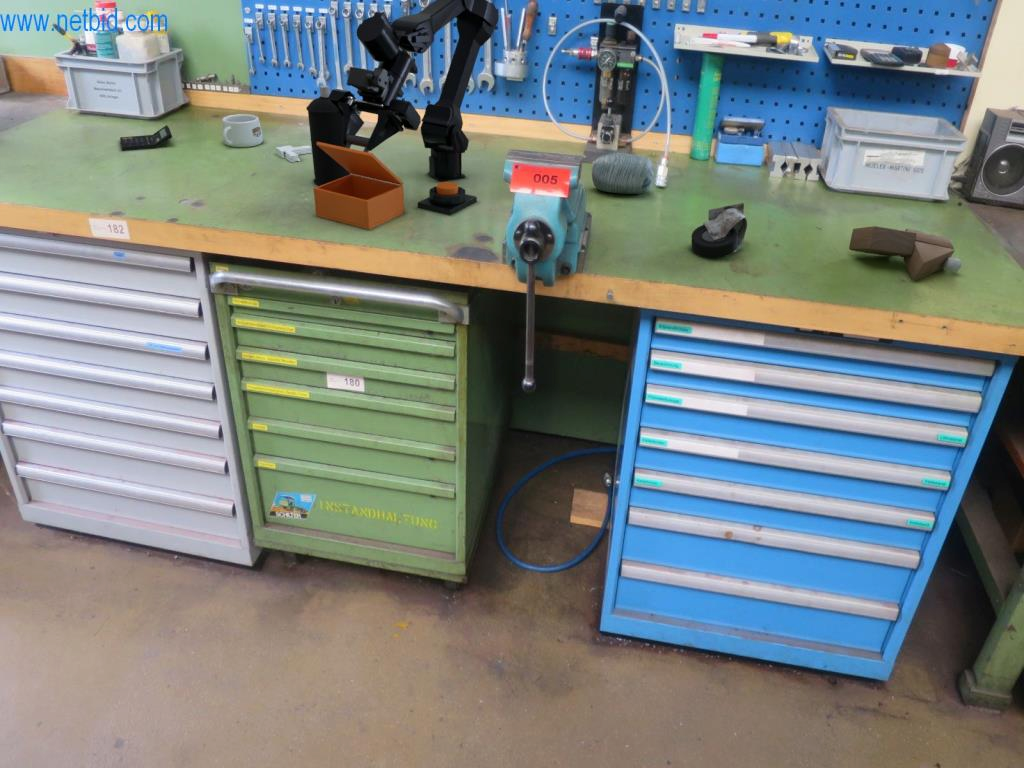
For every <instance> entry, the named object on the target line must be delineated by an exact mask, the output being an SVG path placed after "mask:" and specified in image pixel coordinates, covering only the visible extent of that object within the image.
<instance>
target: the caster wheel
mask: <svg viewBox="0 0 1024 768" xmlns="http://www.w3.org/2000/svg"><path fill="white" fill-rule="evenodd" d="M744 211H745V203H744V202H739V203H735V204H730V205H725V206H720V207H716V208H711V209H709V210H708V220H707V221H705V222H703V224H702V225H700V226H698V227H697V228H695V229H694V230H693V231H692V232H691V250H692V251H693V253H694V254H696V255H697V256H699V257H702V258H705V259H721V258H724V257H728V256H730V255H731V254H733V253H736V252H737V251H739V249H740V248H741V247H742V244H743V241H744V239H745V235H746V232H747V228H748V220H747V218H746V216H745V215H744V214H745V212H744Z"/></svg>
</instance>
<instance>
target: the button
mask: <svg viewBox="0 0 1024 768" xmlns="http://www.w3.org/2000/svg"><path fill="white" fill-rule="evenodd" d="M436 186H437V193H438V194H442V195H454V194H457V193H458V187H459V184H457V183H456V182H452V181H441V182H439V183H437V184H436Z"/></svg>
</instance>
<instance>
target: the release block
mask: <svg viewBox="0 0 1024 768" xmlns="http://www.w3.org/2000/svg"><path fill="white" fill-rule="evenodd" d="M477 201H478V197H477V196H476V195H472V194H467V193H466V189H465V188H464V187H462V186H458V193H457V194H454V195H442V194H438V193H437V185H436V186H433V187H431V188H430V189H429V191H428V197H426V198H424V199H422V200H420V201H417V208H418V209H421V210H425V211H430V212H434V213H438V214H443V215H447V216H452V215H454V214H457V213H458V212H460V211H462V210H464V209H466V208H468V207H470V206H472V205H474V204H476V203H477Z"/></svg>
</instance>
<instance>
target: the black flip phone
mask: <svg viewBox="0 0 1024 768" xmlns="http://www.w3.org/2000/svg"><path fill="white" fill-rule="evenodd" d="M172 138H173V135H172V132H171V129H170V127H169V125H167V124H166V125H164V126H162V128H160V129H158V130H157V131H156V132H154V133H153V134H145V135H134V136H133V135H132V136H121V137H120V136H119V140H120V146H121V150H122V151H123V152H124V151H125V152H126V151H137V150H148V149H149V150H150V149H157V148H159V147H160V146H161V145H163V144H165V143H166V142H168V141H169V140H171V139H172Z"/></svg>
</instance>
